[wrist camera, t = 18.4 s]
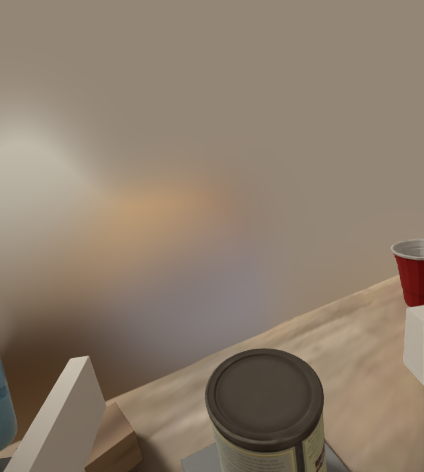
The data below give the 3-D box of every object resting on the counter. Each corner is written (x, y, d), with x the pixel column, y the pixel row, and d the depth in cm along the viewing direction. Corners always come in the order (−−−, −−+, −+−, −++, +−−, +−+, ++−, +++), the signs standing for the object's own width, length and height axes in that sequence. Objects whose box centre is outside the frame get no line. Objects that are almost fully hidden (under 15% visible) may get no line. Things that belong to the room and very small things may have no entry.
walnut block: (81, 460, 39) (69, 432, 37) (124, 429, 42) (115, 402, 41) (96, 498, 34) (84, 467, 33) (143, 460, 38) (134, 430, 36)
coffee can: (231, 443, 37) (213, 348, 32) (319, 446, 35) (312, 346, 30) (221, 554, 27) (193, 440, 23) (342, 567, 25) (336, 445, 21)
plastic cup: (414, 284, 65) (416, 231, 61) (471, 306, 55) (479, 245, 51) (376, 300, 61) (377, 245, 58) (430, 326, 51) (435, 263, 48)
